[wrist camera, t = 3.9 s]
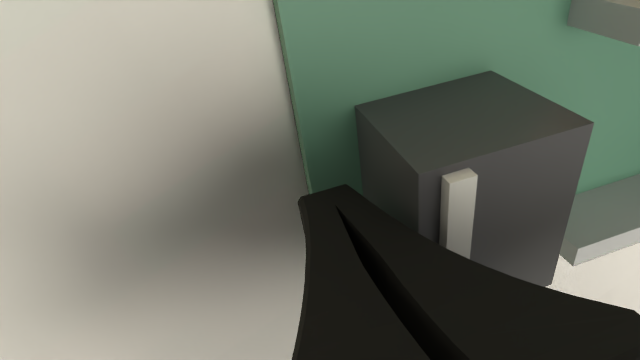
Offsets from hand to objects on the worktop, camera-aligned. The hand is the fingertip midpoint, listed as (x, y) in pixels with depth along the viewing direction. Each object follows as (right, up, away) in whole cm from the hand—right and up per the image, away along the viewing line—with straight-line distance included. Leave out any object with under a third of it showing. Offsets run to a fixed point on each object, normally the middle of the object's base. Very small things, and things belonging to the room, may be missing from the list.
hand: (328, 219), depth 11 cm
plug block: (+3, +1, +1) cm, 4 cm away
